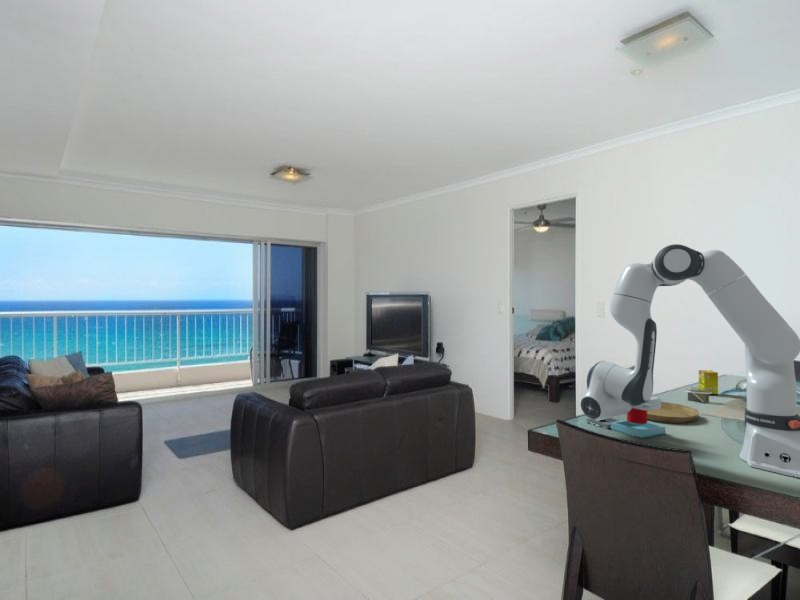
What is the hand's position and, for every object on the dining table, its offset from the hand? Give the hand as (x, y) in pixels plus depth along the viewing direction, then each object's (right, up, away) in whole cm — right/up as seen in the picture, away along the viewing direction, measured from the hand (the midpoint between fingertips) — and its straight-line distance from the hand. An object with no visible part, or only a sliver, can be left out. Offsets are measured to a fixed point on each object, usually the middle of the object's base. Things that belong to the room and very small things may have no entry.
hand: (638, 396), depth 162 cm
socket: (-7, -12, +9) cm, 17 cm away
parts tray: (-1, -12, 0) cm, 12 cm away
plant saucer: (+20, -13, +21) cm, 31 cm away
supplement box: (+63, -12, +60) cm, 88 cm away
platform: (+49, -12, +44) cm, 67 cm away
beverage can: (-1, -10, -1) cm, 10 cm away
